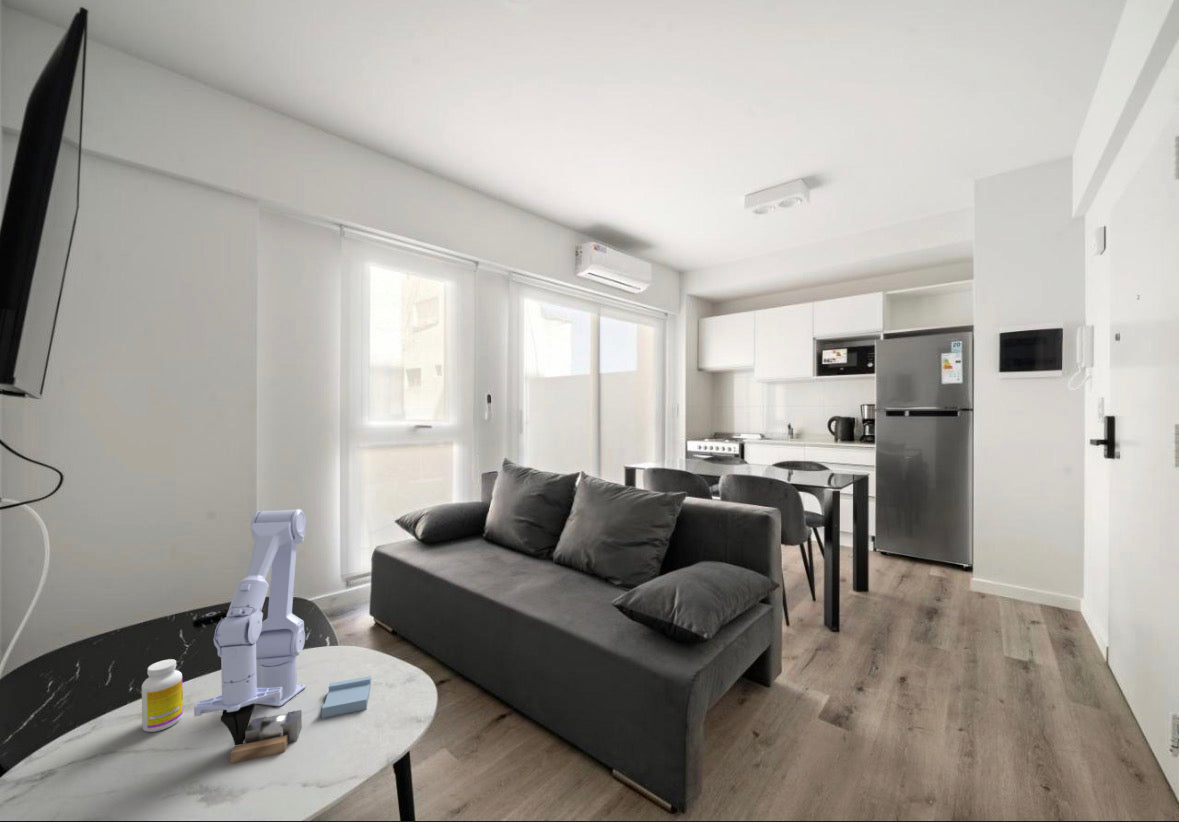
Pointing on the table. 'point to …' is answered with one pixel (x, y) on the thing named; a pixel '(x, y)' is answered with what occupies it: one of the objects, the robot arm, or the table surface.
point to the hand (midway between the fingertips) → (240, 741)
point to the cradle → (347, 696)
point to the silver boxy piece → (275, 727)
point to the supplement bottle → (162, 696)
